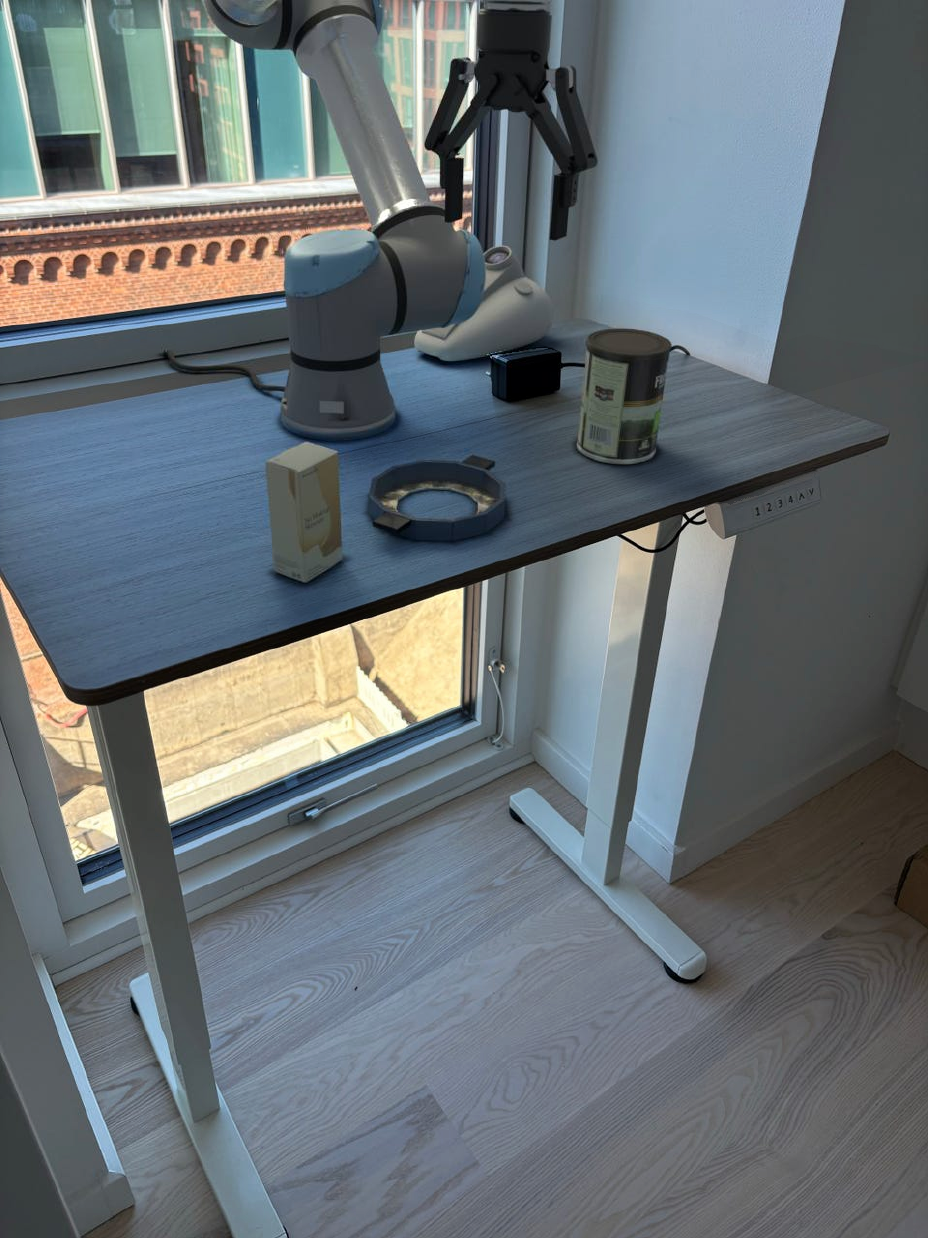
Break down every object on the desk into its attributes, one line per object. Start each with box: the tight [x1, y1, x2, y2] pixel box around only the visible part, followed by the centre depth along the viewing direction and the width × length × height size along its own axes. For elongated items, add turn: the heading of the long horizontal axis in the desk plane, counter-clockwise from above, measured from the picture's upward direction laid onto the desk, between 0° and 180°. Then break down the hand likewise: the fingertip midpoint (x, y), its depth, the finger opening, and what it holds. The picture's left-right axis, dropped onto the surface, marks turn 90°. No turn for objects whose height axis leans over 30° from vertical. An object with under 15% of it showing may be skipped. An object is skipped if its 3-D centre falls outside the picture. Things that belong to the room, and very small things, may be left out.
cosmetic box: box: [264, 441, 343, 584], centre depth 96 cm, size 6×4×12 cm
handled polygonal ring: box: [368, 454, 506, 542], centre depth 110 cm, size 15×20×2 cm
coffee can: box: [576, 327, 673, 465], centre depth 121 cm, size 10×10×14 cm
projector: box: [414, 245, 555, 362], centre depth 154 cm, size 22×23×15 cm
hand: (504, 229), depth 109 cm, fingers open, 13 cm apart
